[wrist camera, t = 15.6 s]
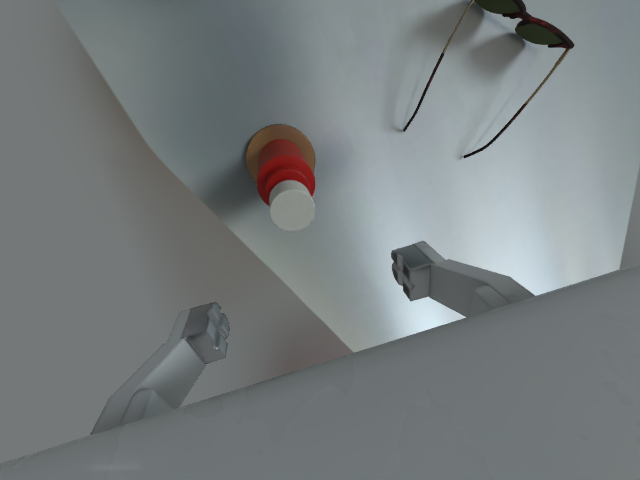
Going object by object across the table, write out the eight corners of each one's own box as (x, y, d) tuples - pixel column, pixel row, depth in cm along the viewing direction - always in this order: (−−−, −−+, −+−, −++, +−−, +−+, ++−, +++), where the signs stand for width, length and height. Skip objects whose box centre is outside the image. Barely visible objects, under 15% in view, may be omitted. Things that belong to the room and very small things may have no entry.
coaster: (259, 200, 35) (259, 202, 34) (235, 134, 30) (234, 134, 29) (320, 184, 35) (321, 185, 34) (306, 116, 30) (306, 116, 30)
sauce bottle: (267, 187, 33) (268, 252, 19) (253, 145, 30) (242, 186, 16) (306, 176, 33) (335, 233, 20) (296, 133, 30) (321, 164, 17)
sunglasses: (539, 48, 31) (579, 45, 27) (465, 158, 39) (487, 169, 35) (457, -13, 27) (490, -28, 23) (390, 125, 34) (406, 133, 30)
